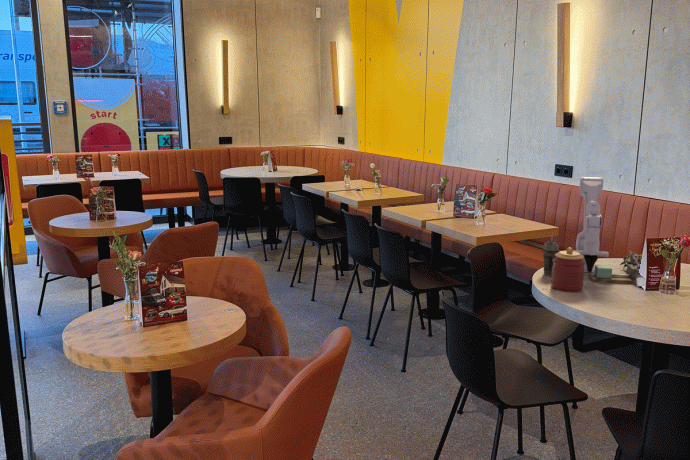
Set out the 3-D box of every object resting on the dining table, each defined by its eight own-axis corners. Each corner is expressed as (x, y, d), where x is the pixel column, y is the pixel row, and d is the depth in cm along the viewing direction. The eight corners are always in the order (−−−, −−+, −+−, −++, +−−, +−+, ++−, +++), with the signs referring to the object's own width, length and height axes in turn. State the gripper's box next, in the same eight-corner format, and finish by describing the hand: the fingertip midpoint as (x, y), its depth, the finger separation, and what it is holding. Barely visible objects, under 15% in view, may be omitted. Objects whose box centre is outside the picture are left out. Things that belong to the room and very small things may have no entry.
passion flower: (638, 284, 278) (641, 268, 270) (614, 276, 285) (616, 259, 276) (647, 267, 283) (650, 251, 275) (624, 260, 290) (626, 243, 281)
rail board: (593, 282, 263) (594, 267, 262) (587, 276, 272) (589, 262, 271) (636, 284, 260) (638, 269, 259) (630, 277, 270) (631, 263, 268)
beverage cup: (539, 275, 274) (542, 232, 270) (542, 271, 280) (545, 229, 276) (556, 277, 270) (559, 234, 267) (558, 273, 277) (561, 231, 273)
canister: (581, 284, 259) (584, 245, 255) (584, 293, 247) (588, 252, 243) (549, 282, 262) (552, 243, 259) (551, 291, 250) (554, 250, 246)
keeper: (597, 277, 264) (597, 267, 263) (593, 273, 270) (594, 264, 269) (611, 278, 263) (612, 268, 262) (608, 274, 269) (608, 265, 268)
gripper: (576, 243, 262) (574, 273, 264) (611, 244, 259) (608, 274, 262) (573, 239, 269) (570, 269, 271) (607, 241, 266) (604, 270, 269)
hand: (589, 271), depth 267 cm, fingers closed
